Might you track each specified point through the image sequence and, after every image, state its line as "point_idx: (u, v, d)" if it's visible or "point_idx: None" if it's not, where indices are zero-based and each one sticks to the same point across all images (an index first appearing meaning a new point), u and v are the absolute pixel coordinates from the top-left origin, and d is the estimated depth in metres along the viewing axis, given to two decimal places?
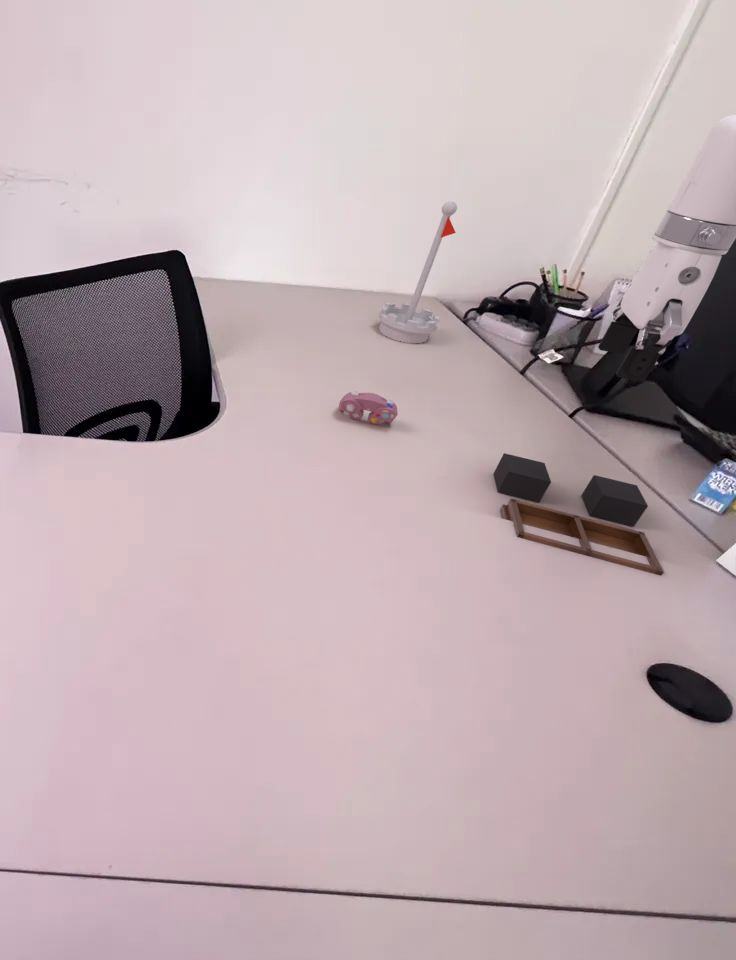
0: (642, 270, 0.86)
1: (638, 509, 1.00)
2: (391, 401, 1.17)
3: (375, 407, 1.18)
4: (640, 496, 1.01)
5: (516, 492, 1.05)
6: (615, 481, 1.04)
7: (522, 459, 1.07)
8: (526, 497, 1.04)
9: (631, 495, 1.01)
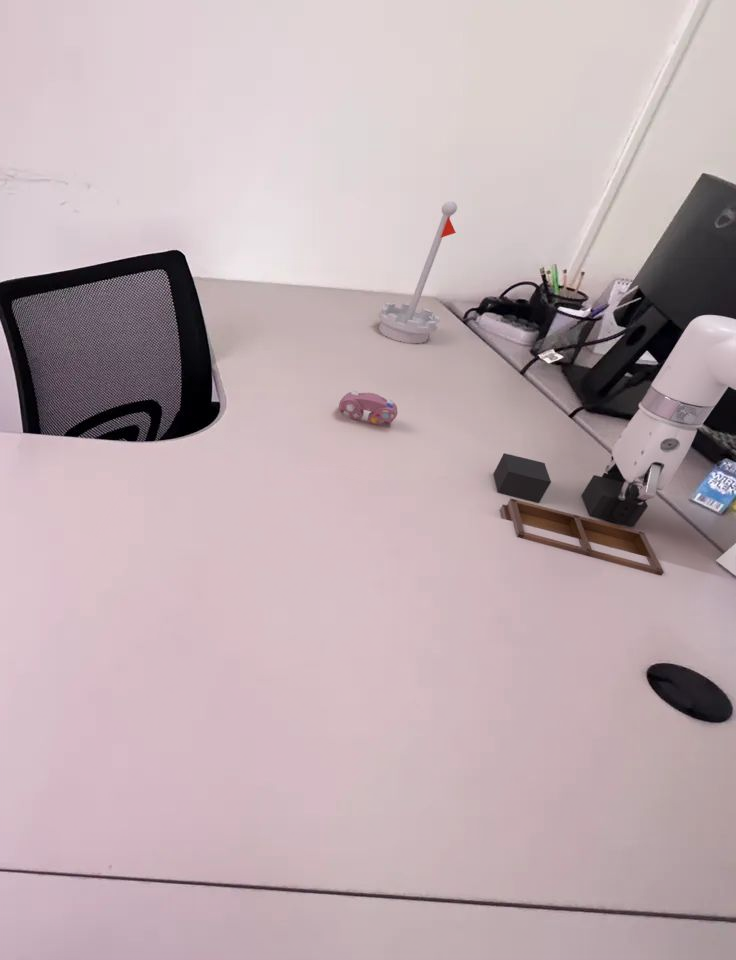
0: (630, 428, 0.99)
1: (638, 509, 1.00)
2: (391, 401, 1.17)
3: (375, 407, 1.18)
4: None
5: (516, 492, 1.05)
6: (615, 481, 1.04)
7: (522, 459, 1.07)
8: (526, 497, 1.04)
9: None
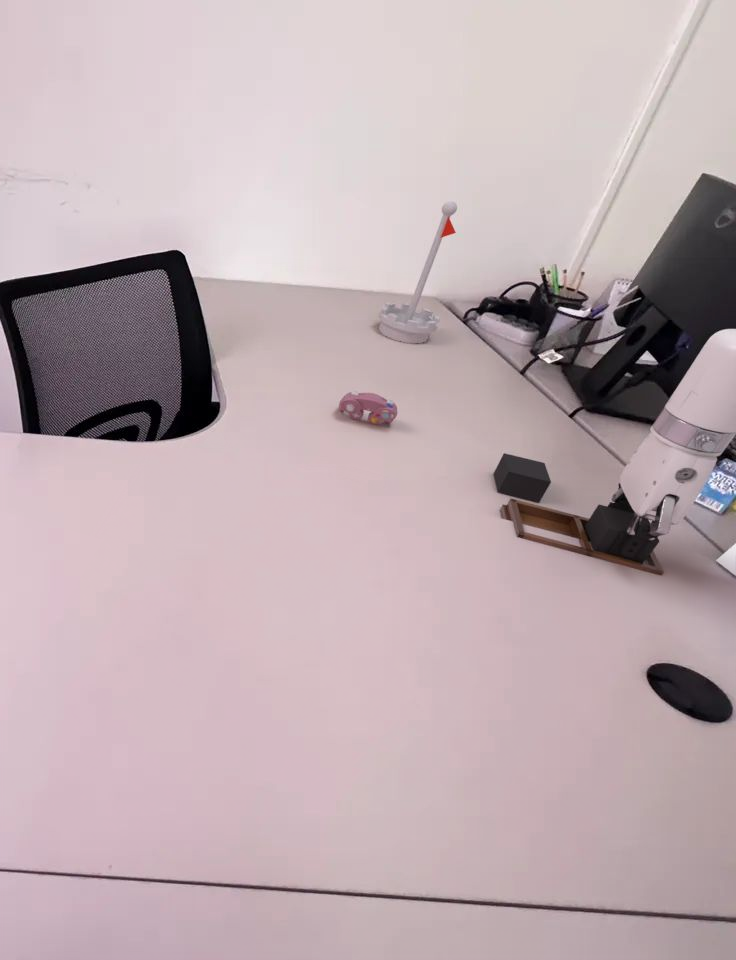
0: (640, 454, 0.88)
1: (648, 544, 0.89)
2: (391, 401, 1.17)
3: (375, 407, 1.18)
4: None
5: (516, 492, 1.05)
6: (622, 512, 0.93)
7: (522, 459, 1.07)
8: (526, 497, 1.04)
9: None
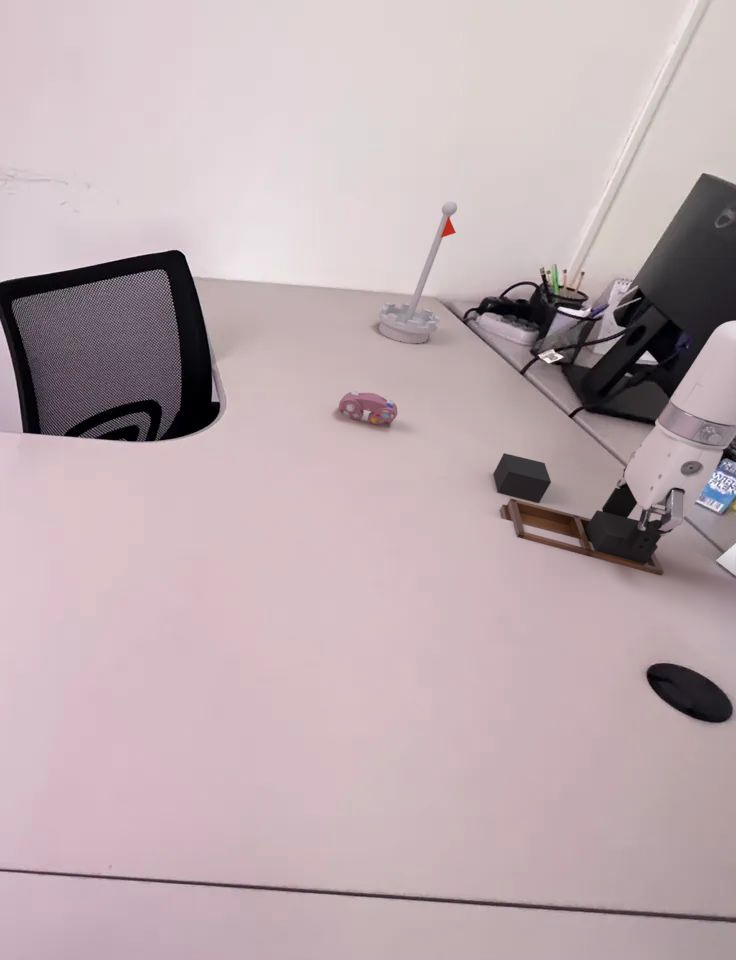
0: (645, 448, 0.88)
1: None
2: (391, 401, 1.17)
3: (375, 407, 1.18)
4: None
5: (516, 492, 1.05)
6: (621, 517, 0.94)
7: (522, 459, 1.07)
8: (526, 497, 1.04)
9: None
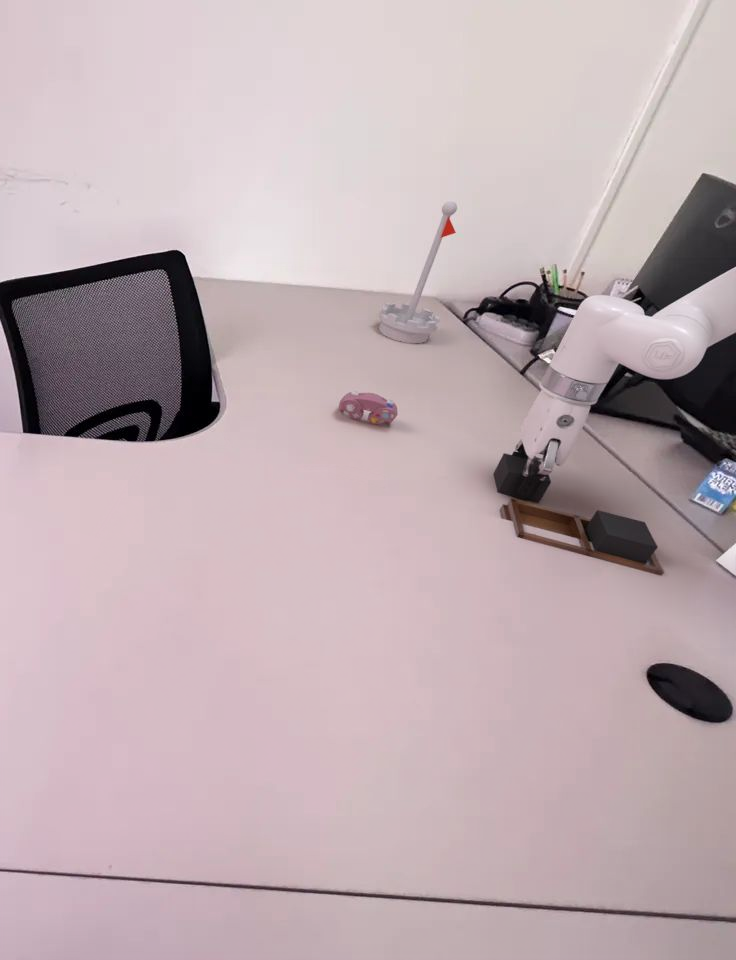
0: (534, 407, 1.02)
1: (646, 550, 0.89)
2: (391, 401, 1.17)
3: (375, 407, 1.18)
4: (649, 535, 0.91)
5: None
6: (621, 517, 0.94)
7: (522, 459, 1.07)
8: None
9: (639, 535, 0.91)
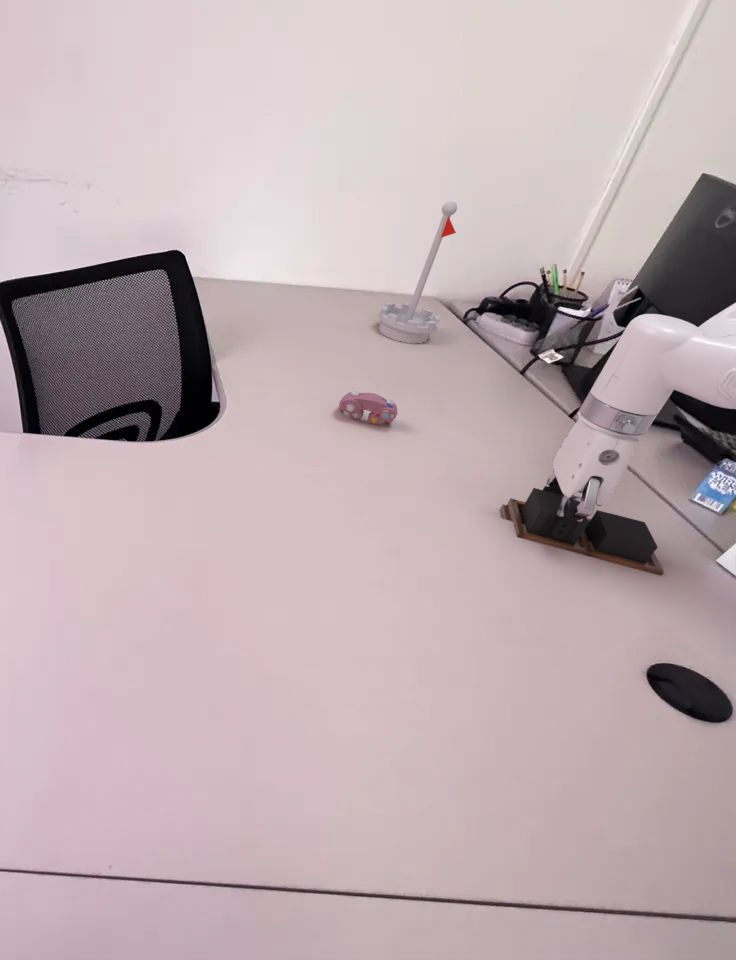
0: (570, 438, 0.90)
1: (646, 550, 0.89)
2: (391, 401, 1.17)
3: (375, 407, 1.18)
4: (649, 535, 0.91)
5: None
6: (621, 517, 0.94)
7: (555, 495, 0.95)
8: None
9: (639, 535, 0.91)
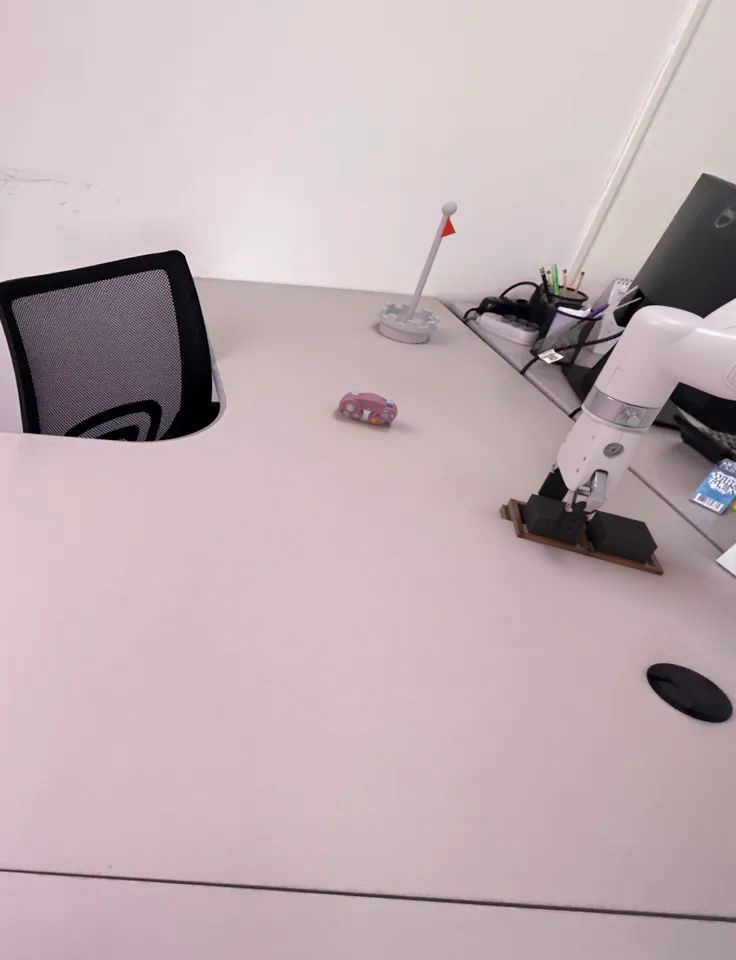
0: (574, 432, 0.90)
1: (646, 550, 0.89)
2: (391, 401, 1.17)
3: (375, 407, 1.18)
4: (649, 535, 0.91)
5: None
6: (621, 517, 0.94)
7: (553, 501, 0.96)
8: None
9: (639, 535, 0.91)
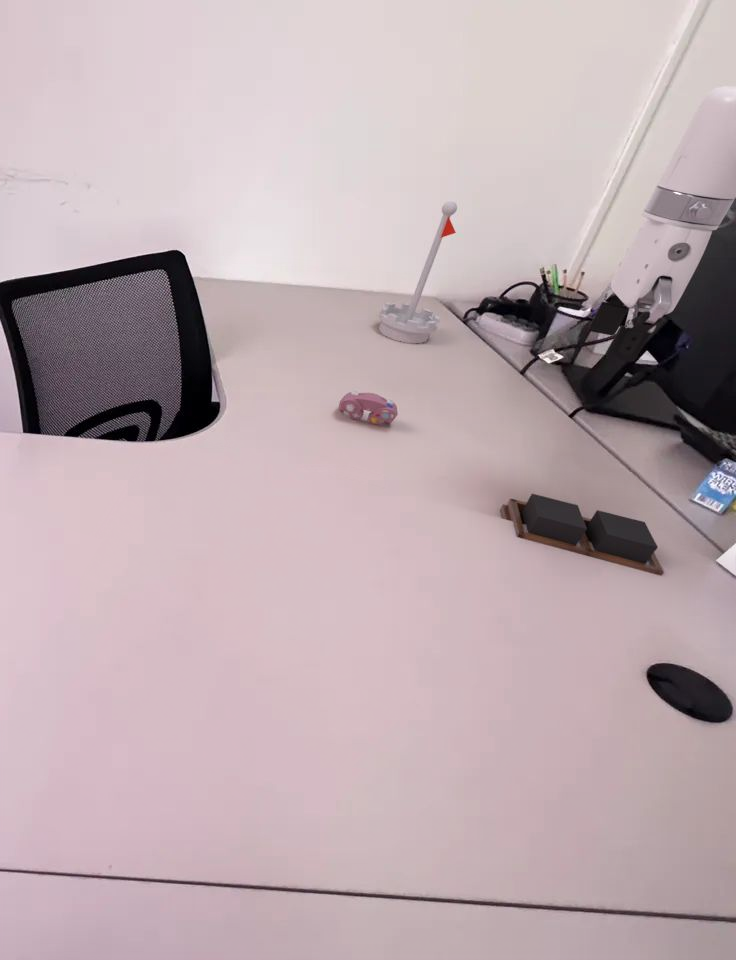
0: (632, 248, 0.84)
1: (646, 550, 0.89)
2: (391, 401, 1.17)
3: (375, 407, 1.18)
4: (649, 535, 0.91)
5: None
6: (621, 517, 0.94)
7: (553, 501, 0.96)
8: None
9: (639, 535, 0.91)
